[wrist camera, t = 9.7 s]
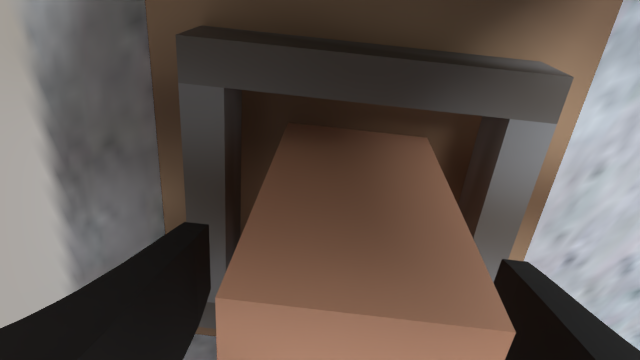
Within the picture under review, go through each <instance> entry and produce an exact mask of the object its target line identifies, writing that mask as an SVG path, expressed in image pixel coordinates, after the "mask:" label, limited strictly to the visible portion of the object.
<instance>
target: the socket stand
mask: <svg viewBox="0 0 640 360" xmlns="http://www.w3.org/2000/svg"><path fill="white" fill-rule="evenodd" d="M622 2H623V0H145V6H146V17H147V29H148V41H149V52H150V64H151V75H152V87H153V98H154V110H155V121H156V133H157V144H158V156H159V167H160V179H161V190H162V202H163V213H164V225H165V234H167V233H168V232H170V231H171V230H173V229H174V228H176V227H177V226H179V225H180V224H182V223H184V222H190V223H199V224H208V225H209V243H210V276H211V291H210V294H209V297H208V300H207V303H206V306H205V309H204V312H203V315H202V318H201V321H200V324H199V326H198V329H197V331H196V333H195V334H201V335H209V336H216V309H215V297H216V295H217V292H218V290H219V287H220V285H221V283H222V280H223V278H224V275H225V273H226V271H227V268H228V266H229V263H230V261H231V259H232V256H233V254H234V251H235V249H236V247H237V244H238V242H239V239H240V237H241V235H242V232H243V230H244V227H245V225H246V223H247V220H248V218H249V215H250V213H251V211H252V208H253V206H254V203H255V201H256V199H257V196H258V194H259V191H260V189H261V187H262V184H263V182H264V179H265V177H266V175H267V172H268V170H269V168H270V165H271V163H272V160H273V158H274V156H275V153H276V151H277V148H278V146H279V144H280V141H281V139H282V136H283V134H284V132H285V129H286V127H287V124H288V123H296V124H305V125H314V126H324V127H333V128H342V129H352V130H361V131H371V132H380V133H389V134H399V135H408V136H417V137H427V138H428V141H429V143H430V145H431V147H432V149H433V152H434V154H435V156H436V158H437V160H438V163H439V165H440V167H441V169H442V171H443V173H444V176H445V178H446V180H447V182H448V184H449V187H450V189H451V191H452V193H453V195H454V198H455V200H456V202H457V204H458V206H459V209H460V211H461V213H462V215H463V217H464V220H465V222H466V224H467V226H468V228H469V231H470V233H471V235H472V237H473V239H474V242H475V244H476V246H477V248H478V250H479V253H480V255H481V257H482V259H483V261H484V263H485V266H486V268H487V270H488V272H489V274H490V277H491V279H492V281H493V283H494V280H495V277H496V274H497V271H498V268H499V266H500V263H501V260H502V259H508V260H517V261H524V258H525V255H526V253H527V250H528V247H529V245H530V242H531V240H532V237H533V234H534V232H535V229H536V227H537V224H538V221H539V219H540V216H541V213H542V211H543V208H544V206H545V203H546V200H547V198H548V195H549V193H550V190H551V187H552V185H553V182H554V179H555V177H556V174H557V172H558V169H559V166H560V164H561V161H562V159H563V156H564V153H565V151H566V148H567V145H568V143H569V140H570V138H571V135H572V132H573V130H574V127H575V125H576V122H577V119H578V117H579V114H580V111H581V109H582V106H583V104H584V101H585V98H586V96H587V93H588V91H589V88H590V85H591V83H592V80H593V77H594V75H595V72H596V70H597V67H598V64H599V62H600V59H601V57H602V54H603V51H604V49H605V46H606V43H607V41H608V38H609V36H610V33H611V30H612V28H613V25H614V23H615V20H616V17H617V15H618V12H619V10H620V7H621V4H622Z"/></svg>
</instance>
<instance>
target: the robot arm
mask: <svg viewBox="0 0 640 360" xmlns="http://www.w3.org/2000/svg"><path fill="white" fill-rule="evenodd" d="M494 285H495V288H496V290H497V292H498V294H499V296H500V299H501V301H502V303H503V305H504V307H505V310H506V312H507V314H508V316H509V318H510V321H511V323H512V325H513V327H514V329H515V332H516V334H515V336H514V339H513V341H512V344H511V346H510V348H509V351H508V353H507V356H506V358H505V360H640V351H639V350H638V349H637V348H635V347H634V346H633V345H631V344H630V343H628V342H627V341H626V340H625V339H623V338H622V337H621V336H619V335H618V334H617V333H616V332H614V331H613V330H612V329H610V328H609V327H608V326H607V325H605V324H604V323H603V322H602V321H600V320H599V319H598V318H597V317H596V316H594V315H593V314H592V313H591V312H589V311H588V310H587V309H586V308H584V307H583V306H582V305H581V304H580V303H578V302H577V301H576V300H575V299H574V298H572V297H571V296H570V295H569V294H568V293H566V292H565V291H564V290H563V289H562V288H560V287H559V286H558V285H557V284H555V283H554V282H553V281H552V280H551V279H549V278H548V277H547V276H546V275H544V274H543V273H542V272H541V271H539V270H538V269H537V268H535V267H534V266H533V265H531V264H530V263H528V262H525V261H517V260H508V259H502V260H501V263H500V266H499V268H498V271H497V274H496V277H495V280H494ZM210 291H211V276H210V243H209V225H208V224H199V223H190V222H184V223H182V224H180V225H179V226H177V227H176V228H174V229H173V230H171V231H170V232H168V233H167V234H165V235H164V236H162V237H161V238H160V239H158V240H157V241H155V242H154V243H152V244H151V245H149V246H148V247H146V248H145V249H143V250H142V251H140V252H139V253H137V254H136V255H134V256H133V257H131V258H130V259H128V260H127V261H125V262H124V263H122V264H121V265H119V266H117V267H116V268H114V269H112V270H111V271H109V272H107V273H106V274H104V275H102V276H101V277H99V278H97V279H96V280H94V281H92V282H91V283H89V284H87V285H86V286H84V287H82V288H81V289H79V290H77V291H76V292H74V293H72V294H70V295H68V296H66V297H65V298H63V299H61V300H59V301H57V302H55V303H53V304H51V305H49V306H47V307H45V308H43V309H41V310H39V311H37V312H35V313H33V314H31V315H29V316H27V317H25V318H23V319H21V320H19V321H17V322H14V323H12V324H10V325H7V326H5V327H3V328H0V360H183V358H184V356H185V354H186V352H187V350H188V348H189V346H190V343H191V341H192V339H193V337H194V335H195V333H196V331H197V329H198V326H199V324H200V321H201V318H202V315H203V312H204V309H205V306H206V303H207V300H208V297H209V294H210Z"/></svg>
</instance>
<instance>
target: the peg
mask: <svg viewBox="0 0 640 360" xmlns="http://www.w3.org/2000/svg"><path fill="white" fill-rule="evenodd" d="M215 309H216V343H217V360H505V358H506V356H507V353H508V351H509V348H510V346H511V344H512V341H513V339H514V336H515V334H516V332H515V329H514V327H513V325H512V323H511V321H510V318H509V316H508V314H507V312H506V310H505V307H504V305H503V303H502V301H501V299H500V296H499V294H498V292H497V290H496V288H495V285H494V283H493V281H492V279H491V277H490V274H489V272H488V270H487V268H486V266H485V263H484V261H483V259H482V257H481V255H480V253H479V250H478V248H477V246H476V244H475V242H474V239H473V237H472V235H471V233H470V231H469V228H468V226H467V224H466V222H465V220H464V217H463V215H462V213H461V211H460V209H459V206H458V204H457V202H456V200H455V198H454V195H453V193H452V191H451V189H450V187H449V184H448V182H447V180H446V178H445V176H444V173H443V171H442V169H441V167H440V165H439V163H438V160H437V158H436V156H435V154H434V152H433V149H432V147H431V145H430V143H429V141H428V138H427V137H417V136H408V135H399V134H389V133H380V132H371V131H361V130H352V129H342V128H333V127H324V126H314V125H305V124H296V123H288V124H287V127H286V129H285V132H284V134H283V136H282V139H281V141H280V144H279V146H278V148H277V151H276V153H275V156H274V158H273V160H272V163H271V165H270V168H269V170H268V172H267V175H266V177H265V179H264V182H263V184H262V187H261V189H260V191H259V194H258V196H257V199H256V201H255V203H254V206H253V208H252V211H251V213H250V215H249V218H248V220H247V223H246V225H245V227H244V230H243V232H242V235H241V237H240V239H239V242H238V244H237V247H236V249H235V251H234V254H233V256H232V259H231V261H230V263H229V266H228V268H227V271H226V273H225V275H224V278H223V280H222V283H221V285H220V287H219V290H218V292H217V295H216V297H215Z"/></svg>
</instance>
